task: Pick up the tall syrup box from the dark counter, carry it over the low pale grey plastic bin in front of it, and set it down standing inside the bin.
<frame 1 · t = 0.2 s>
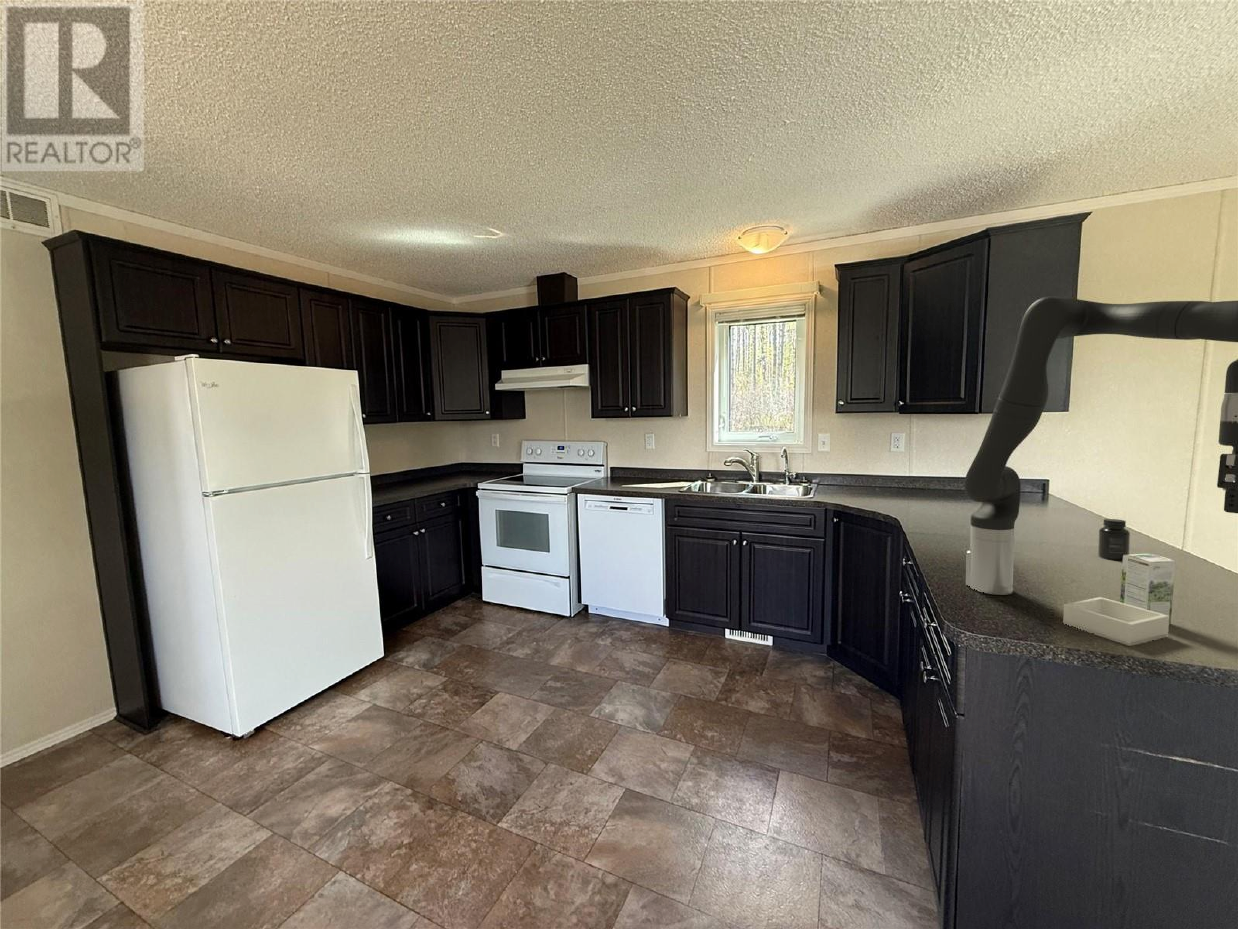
supplement bottle: (1113, 558, 152), on the worktop
bin: (1113, 630, 104), on the worktop
syrup box: (1144, 620, 108), on the worktop
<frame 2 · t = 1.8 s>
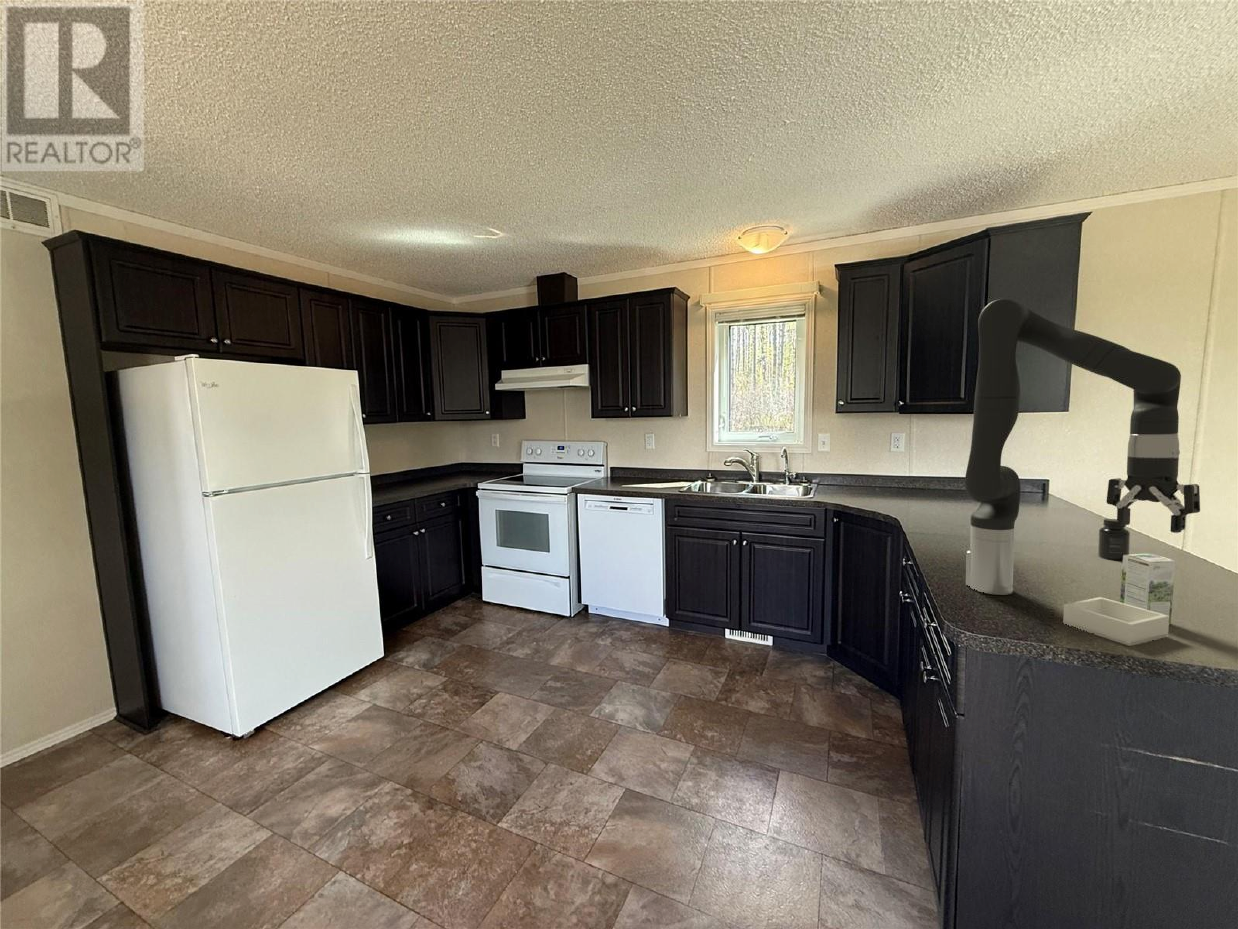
hand: (1149, 528, 107), 21 cm above the worktop, tool pointing down, fingers open, 8 cm apart
nothing on the worktop moved.
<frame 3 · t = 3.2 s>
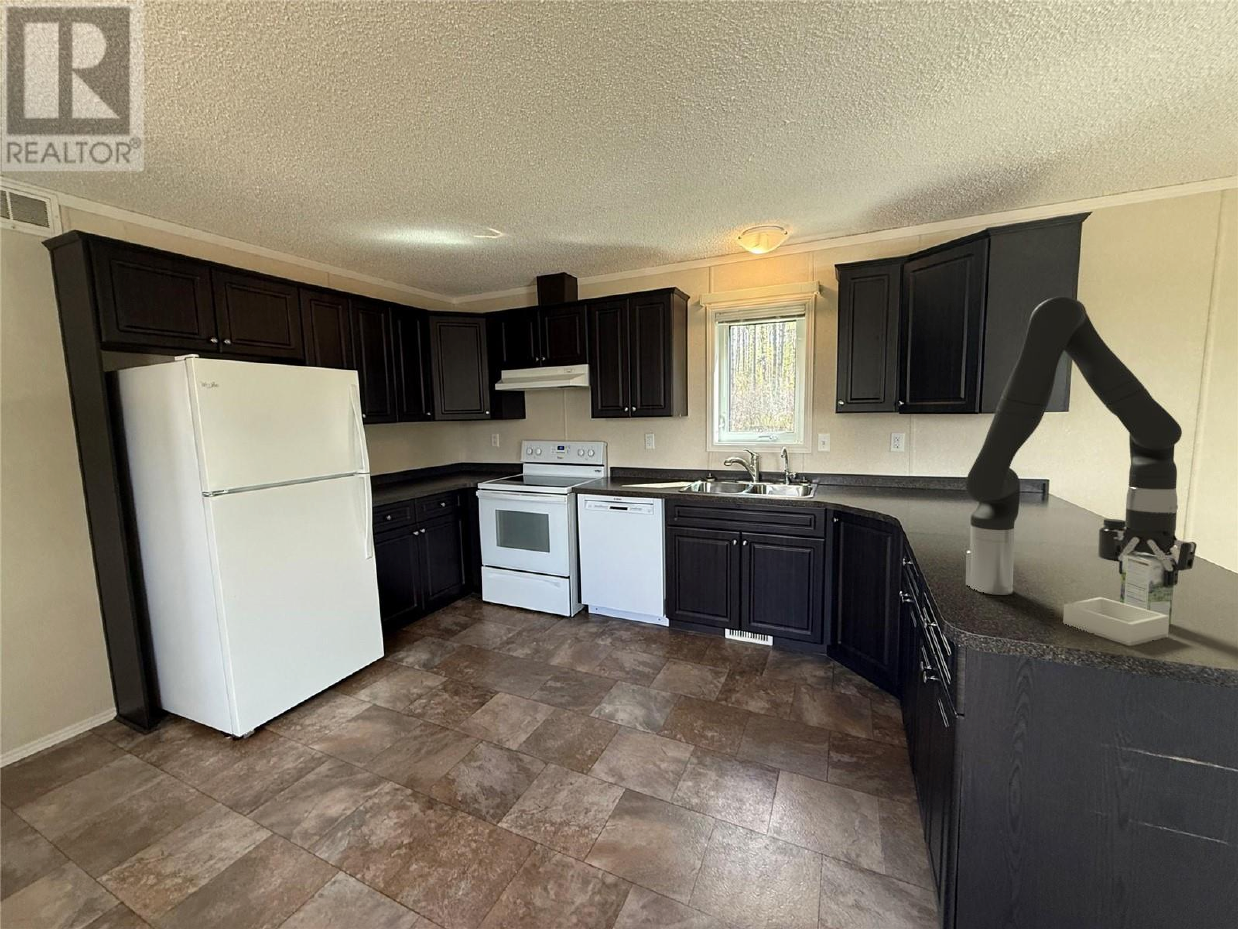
hand: (1147, 581, 108), 9 cm above the worktop, tool pointing down, fingers closed on syrup box, 6 cm apart
syrup box: (1144, 620, 108), on the worktop, touching gripper
everything else where it was.
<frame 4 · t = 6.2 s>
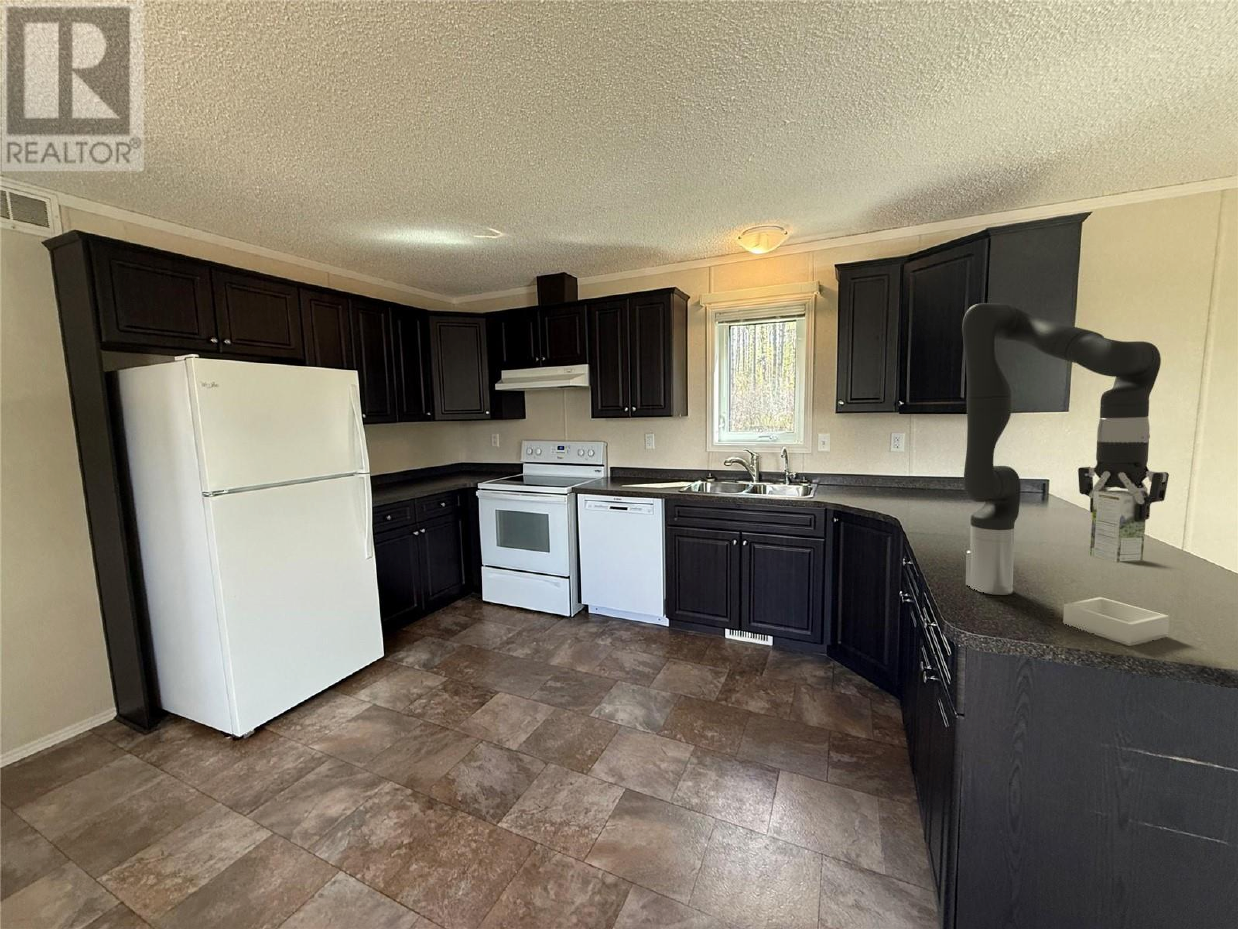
hand: (1118, 518, 102), 24 cm above the worktop, tool pointing down, fingers closed on syrup box, 6 cm apart
syrup box: (1116, 559, 103), point 15 cm above the worktop, touching gripper
everything else where it was.
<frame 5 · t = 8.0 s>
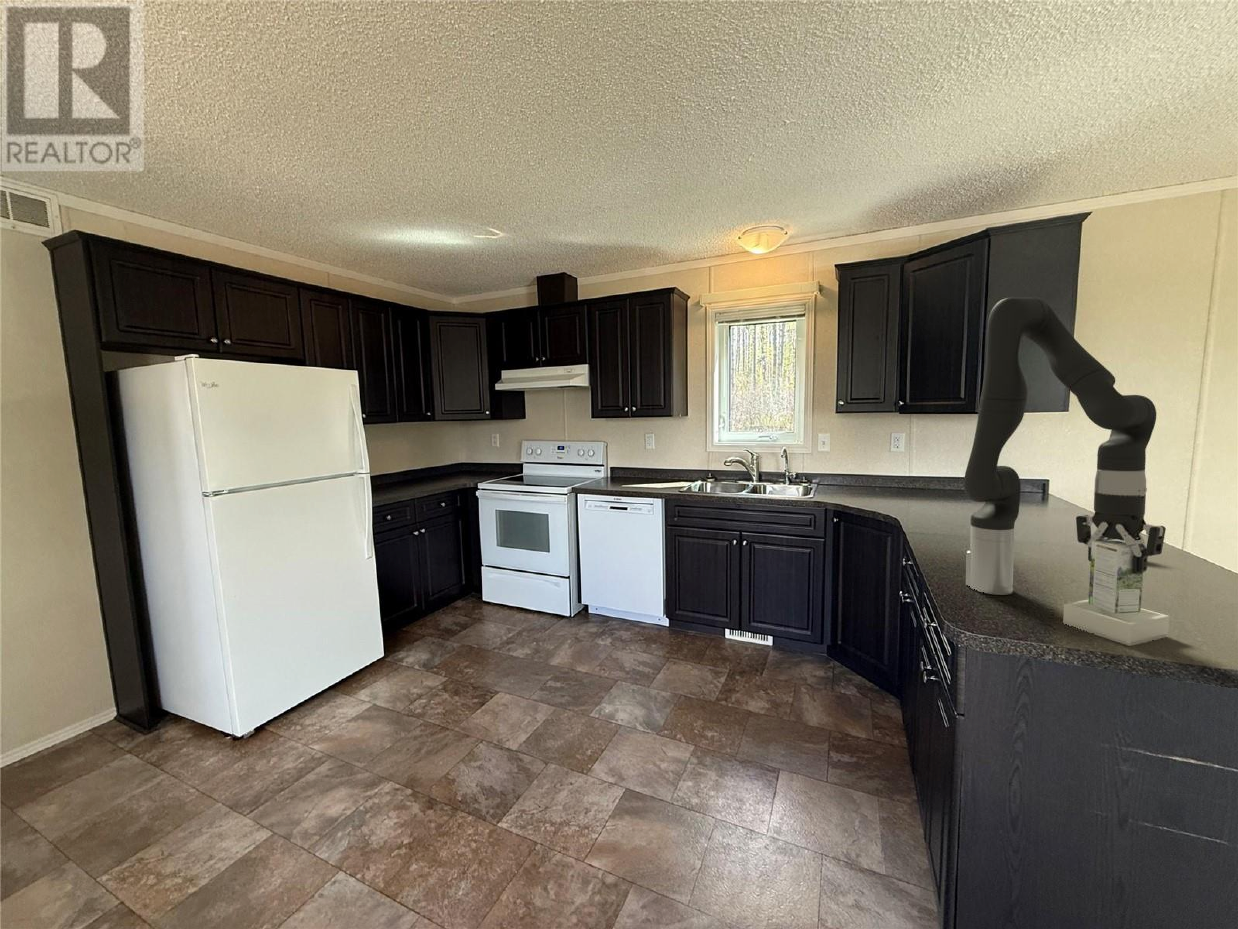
hand: (1116, 568, 103), 14 cm above the worktop, tool pointing down, fingers closed on syrup box, 6 cm apart
syrup box: (1114, 609, 104), point 5 cm above the worktop, touching gripper
everything else where it was.
when the fingers open (11 cm above the worktop, at t = 9.2 s): syrup box drops 1 cm, resting on bin.
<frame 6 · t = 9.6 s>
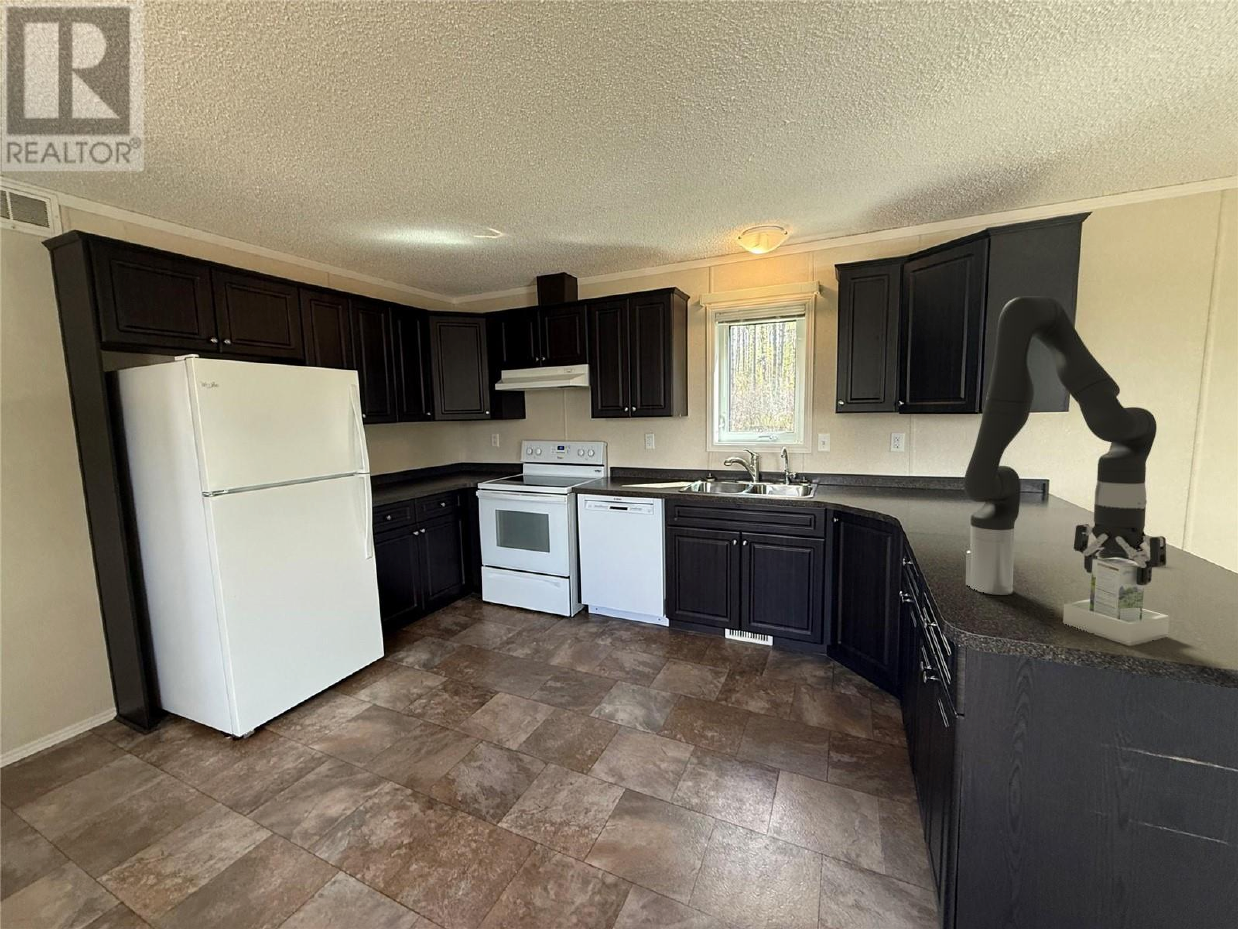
hand: (1115, 578, 103), 11 cm above the worktop, tool pointing down, fingers open, 8 cm apart
syrup box: (1114, 627, 104), point 1 cm above the worktop, touching bin
everything else where it was.
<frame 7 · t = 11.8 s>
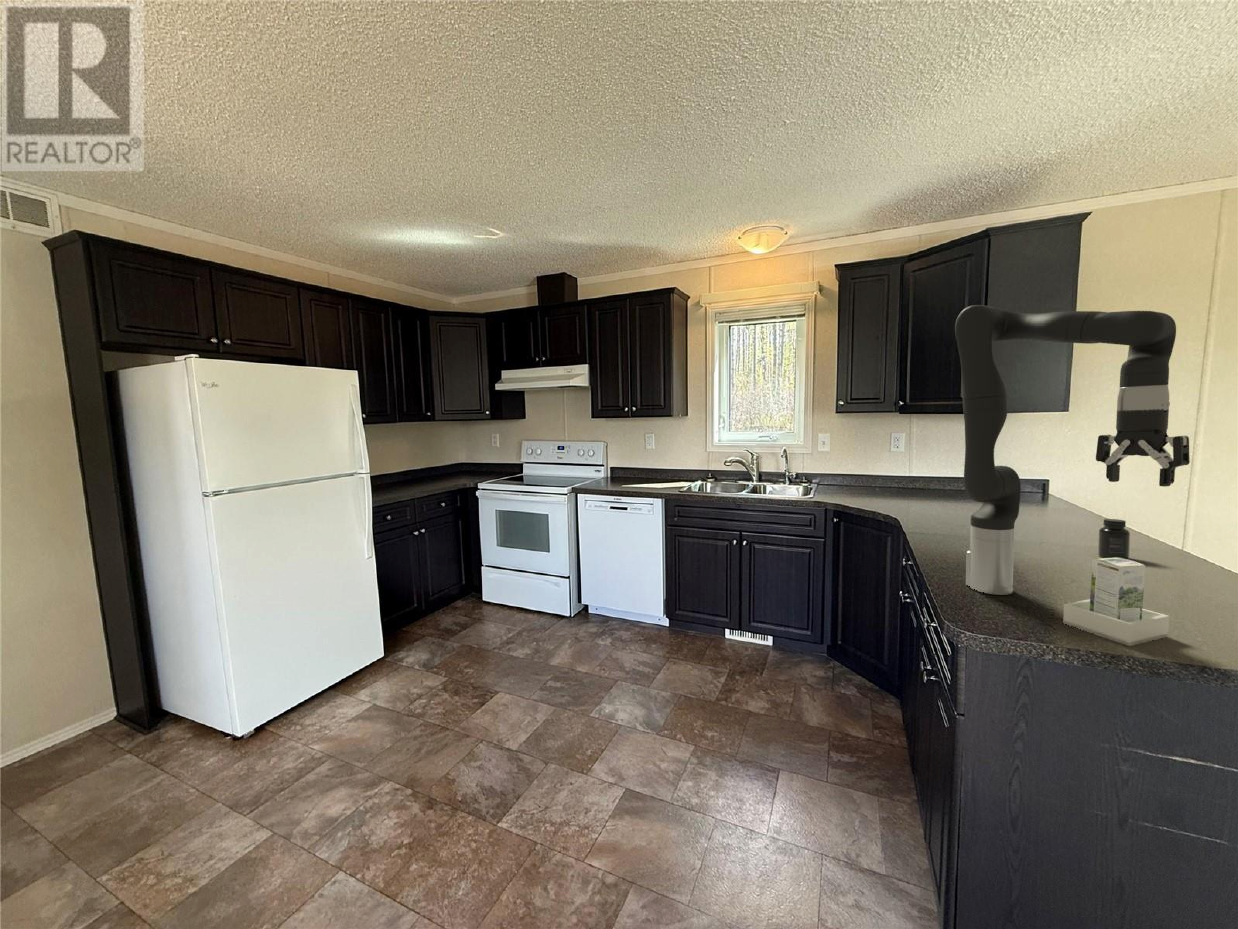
hand: (1138, 483, 104), 31 cm above the worktop, tool pointing down, fingers open, 8 cm apart
nothing on the worktop moved.
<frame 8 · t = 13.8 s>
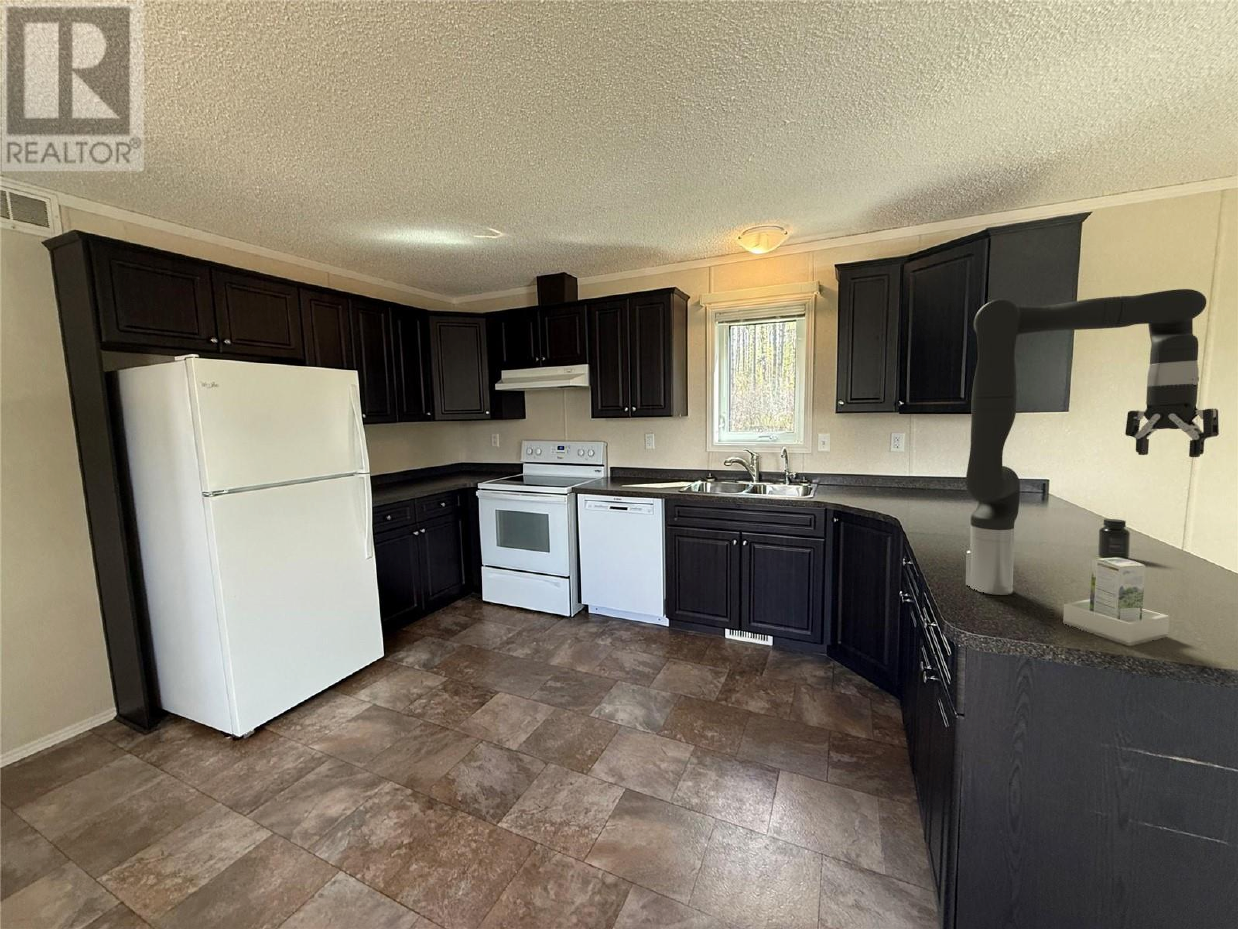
hand: (1167, 455, 110), 36 cm above the worktop, tool pointing down, fingers open, 8 cm apart
nothing on the worktop moved.
at the end: syrup box 0.2 cm off-centre on the bin, point 0.6 cm above the bin's base; syrup box tilted 0°; the gripper is holding nothing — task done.
